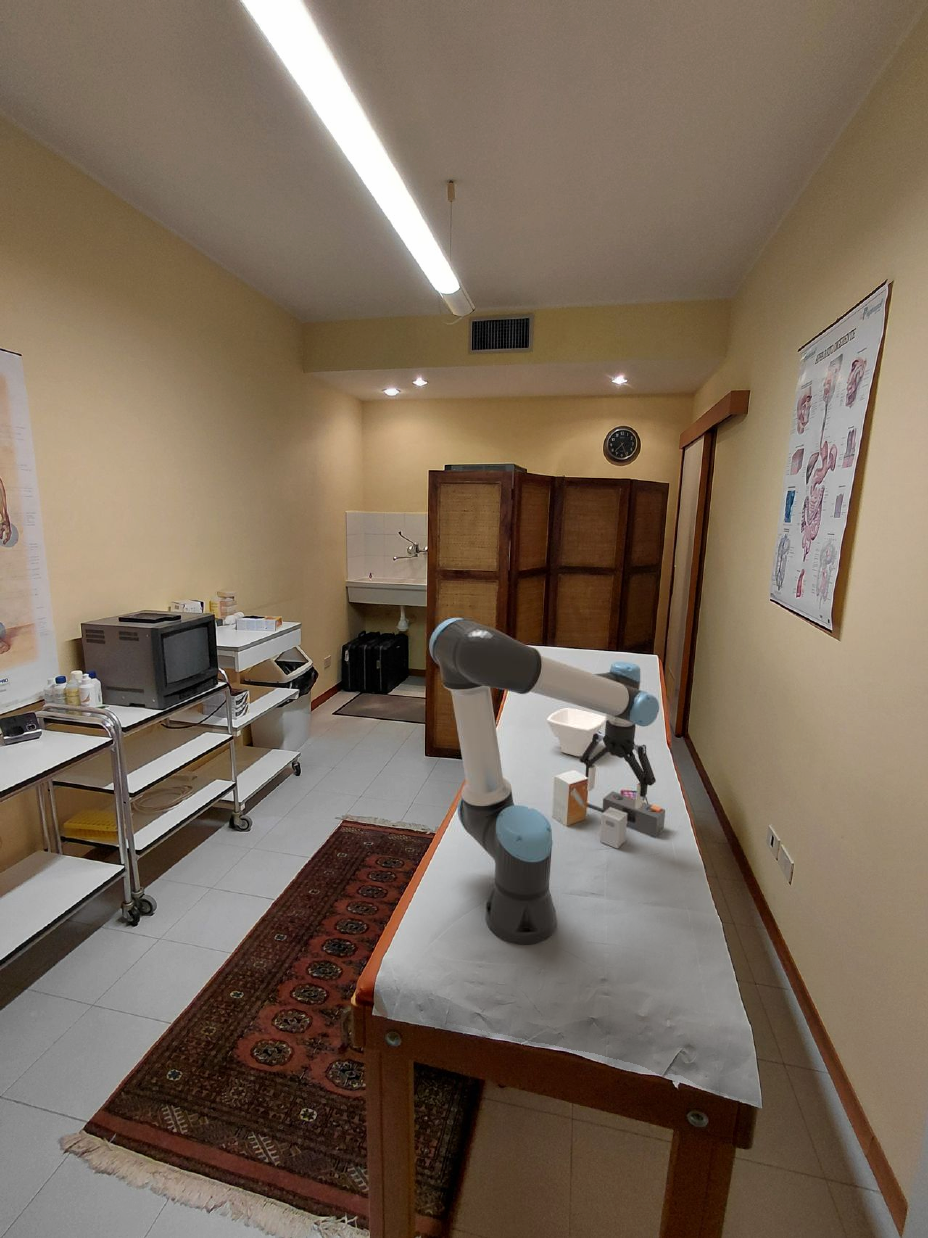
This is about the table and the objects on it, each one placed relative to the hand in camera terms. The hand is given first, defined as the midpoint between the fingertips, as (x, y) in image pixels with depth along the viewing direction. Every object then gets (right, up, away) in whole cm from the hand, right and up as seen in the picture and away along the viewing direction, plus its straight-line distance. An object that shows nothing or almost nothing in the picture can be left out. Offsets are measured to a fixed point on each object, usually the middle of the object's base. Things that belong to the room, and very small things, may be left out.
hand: (613, 798), depth 144 cm
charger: (+2, -12, +4) cm, 13 cm away
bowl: (+2, -3, +61) cm, 61 cm away
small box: (-9, -11, +15) cm, 20 cm away
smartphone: (+14, -10, +24) cm, 30 cm away
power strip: (+6, -11, +15) cm, 20 cm away
